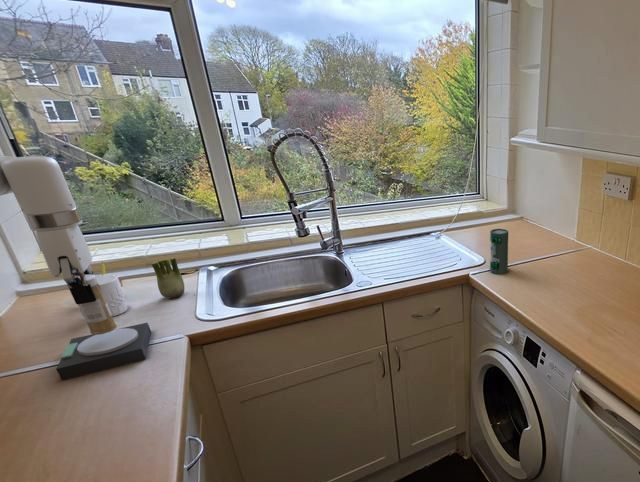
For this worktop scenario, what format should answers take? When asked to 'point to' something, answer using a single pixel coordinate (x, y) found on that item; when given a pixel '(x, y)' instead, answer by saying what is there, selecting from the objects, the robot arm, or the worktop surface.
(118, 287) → the white cup
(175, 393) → the worktop surface
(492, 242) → the can
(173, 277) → the fennel bulb
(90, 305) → the sprinkles bottle
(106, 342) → the scale
